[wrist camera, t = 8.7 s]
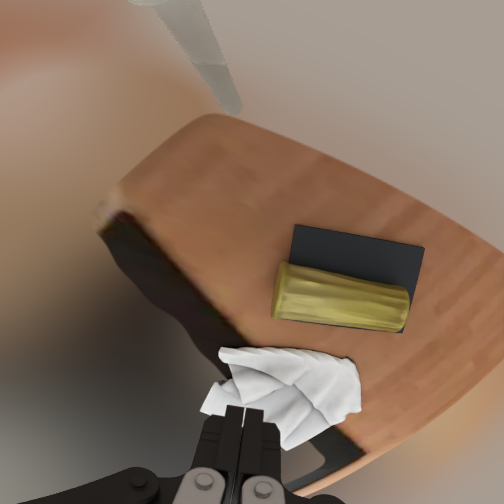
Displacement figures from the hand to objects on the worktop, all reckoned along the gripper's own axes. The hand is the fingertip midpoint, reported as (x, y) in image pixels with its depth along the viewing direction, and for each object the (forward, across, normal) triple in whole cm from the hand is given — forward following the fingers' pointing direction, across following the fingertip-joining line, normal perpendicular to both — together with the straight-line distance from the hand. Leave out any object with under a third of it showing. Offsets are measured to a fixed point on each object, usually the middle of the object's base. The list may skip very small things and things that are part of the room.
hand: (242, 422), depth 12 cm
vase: (+22, -2, +1) cm, 22 cm away
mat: (+25, -11, 0) cm, 28 cm away
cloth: (+25, -5, +17) cm, 31 cm away
